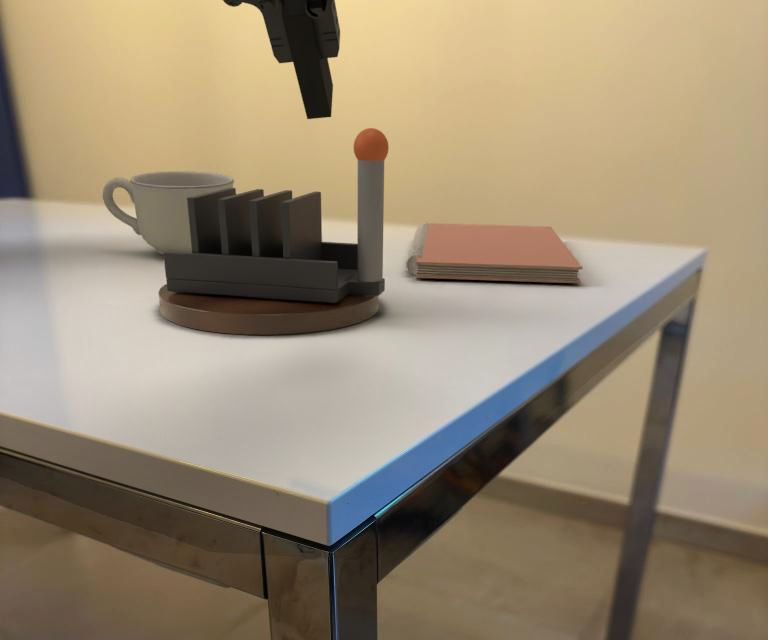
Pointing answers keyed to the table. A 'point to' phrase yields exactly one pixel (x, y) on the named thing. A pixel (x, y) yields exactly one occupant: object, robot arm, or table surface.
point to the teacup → (163, 204)
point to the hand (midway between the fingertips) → (320, 101)
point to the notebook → (491, 253)
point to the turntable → (263, 313)
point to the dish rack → (284, 241)
